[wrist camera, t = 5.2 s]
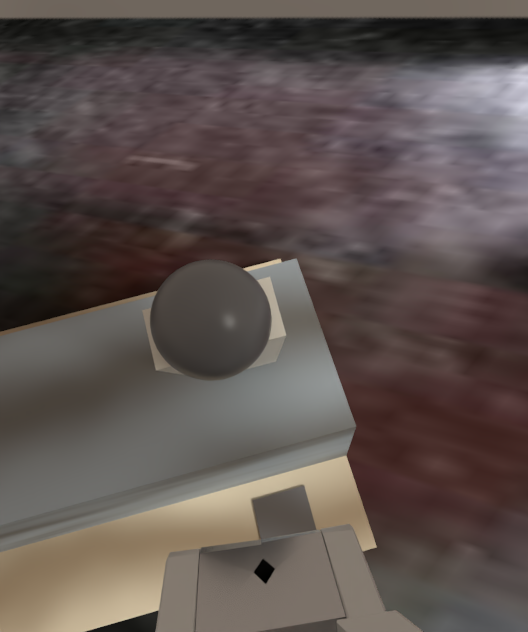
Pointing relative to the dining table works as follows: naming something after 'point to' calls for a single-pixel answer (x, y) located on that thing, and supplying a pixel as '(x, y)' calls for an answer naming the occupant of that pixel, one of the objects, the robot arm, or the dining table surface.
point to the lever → (213, 321)
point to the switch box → (157, 458)
